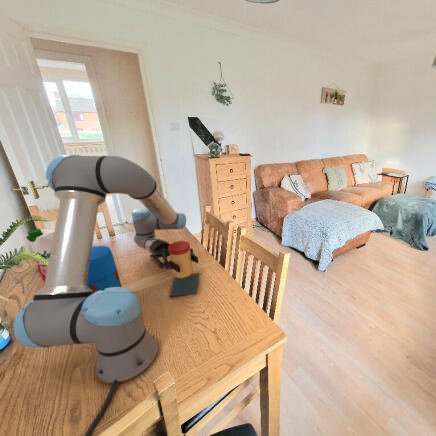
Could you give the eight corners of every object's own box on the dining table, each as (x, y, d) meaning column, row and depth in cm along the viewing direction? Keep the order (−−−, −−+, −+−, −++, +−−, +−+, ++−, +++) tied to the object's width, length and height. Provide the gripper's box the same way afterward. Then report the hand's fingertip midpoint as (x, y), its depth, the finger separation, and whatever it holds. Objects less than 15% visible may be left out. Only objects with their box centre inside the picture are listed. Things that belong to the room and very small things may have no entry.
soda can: (49, 282, 102) (39, 258, 97) (68, 278, 105) (59, 255, 100) (43, 291, 97) (32, 266, 92) (64, 287, 100) (54, 262, 95)
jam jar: (192, 276, 99) (188, 250, 95) (172, 279, 97) (167, 252, 92) (193, 266, 106) (190, 241, 101) (175, 268, 104) (170, 243, 99)
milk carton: (36, 271, 108) (18, 232, 100) (56, 261, 116) (41, 223, 109) (53, 273, 107) (37, 234, 100) (72, 262, 116) (58, 225, 108)
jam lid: (189, 253, 95) (188, 249, 94) (167, 256, 93) (166, 251, 92) (191, 244, 102) (190, 240, 101) (170, 245, 100) (170, 242, 99)
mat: (196, 293, 99) (196, 292, 99) (170, 297, 97) (169, 296, 96) (198, 274, 112) (198, 273, 112) (175, 276, 109) (175, 275, 109)
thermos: (85, 325, 82) (61, 264, 73) (99, 303, 92) (79, 247, 82) (121, 319, 85) (103, 260, 76) (131, 299, 95) (116, 244, 85)
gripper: (180, 245, 118) (210, 261, 106) (136, 264, 102) (165, 285, 91) (177, 232, 115) (208, 246, 103) (132, 249, 99) (162, 268, 88)
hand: (188, 264), depth 97 cm, fingers closed on jam jar, 8 cm apart
